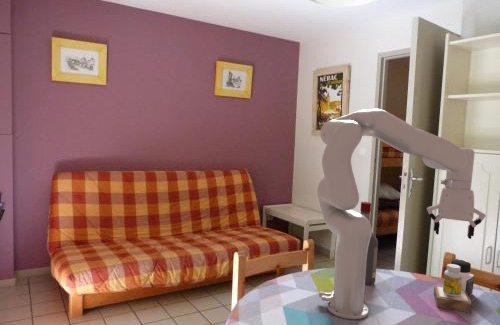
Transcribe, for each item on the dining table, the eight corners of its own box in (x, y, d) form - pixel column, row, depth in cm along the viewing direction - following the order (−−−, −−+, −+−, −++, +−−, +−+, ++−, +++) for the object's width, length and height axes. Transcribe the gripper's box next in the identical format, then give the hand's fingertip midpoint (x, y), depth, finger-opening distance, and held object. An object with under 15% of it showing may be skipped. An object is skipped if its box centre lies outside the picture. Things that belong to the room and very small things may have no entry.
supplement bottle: (463, 294, 130) (466, 267, 129) (455, 298, 127) (457, 270, 126) (448, 288, 134) (450, 262, 133) (439, 292, 131) (441, 264, 130)
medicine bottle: (465, 299, 134) (468, 266, 132) (443, 292, 139) (446, 260, 138) (472, 294, 138) (475, 261, 137) (451, 287, 144) (454, 255, 143)
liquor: (352, 285, 142) (357, 205, 139) (345, 275, 151) (350, 199, 148) (376, 286, 142) (382, 205, 139) (368, 276, 151) (374, 200, 148)
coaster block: (436, 306, 128) (437, 296, 127) (433, 294, 137) (434, 285, 137) (470, 312, 124) (471, 302, 124) (465, 299, 134) (466, 290, 133)
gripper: (430, 183, 128) (425, 234, 129) (490, 189, 121) (484, 242, 123) (428, 181, 135) (424, 229, 136) (485, 186, 128) (480, 236, 130)
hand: (452, 235), depth 130 cm, fingers open, 9 cm apart
